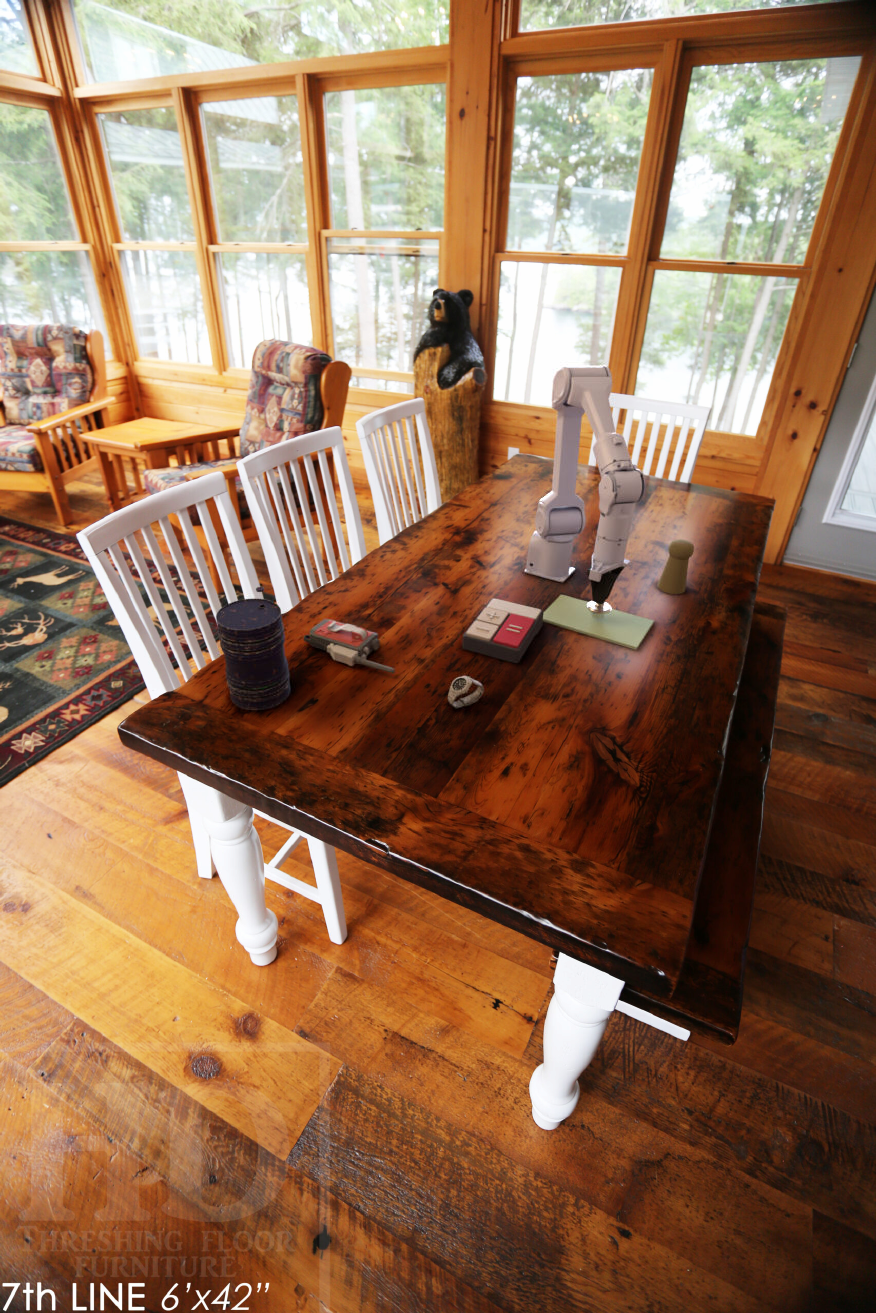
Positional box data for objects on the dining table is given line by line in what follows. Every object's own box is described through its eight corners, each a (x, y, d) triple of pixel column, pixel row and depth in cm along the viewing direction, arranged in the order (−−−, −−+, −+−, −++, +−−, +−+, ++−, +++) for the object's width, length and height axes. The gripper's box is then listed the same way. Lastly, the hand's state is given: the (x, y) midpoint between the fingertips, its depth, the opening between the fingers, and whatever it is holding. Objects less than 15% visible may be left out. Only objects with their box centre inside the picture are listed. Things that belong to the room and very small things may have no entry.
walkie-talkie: (296, 650, 117) (391, 681, 110) (293, 629, 115) (390, 659, 108) (324, 628, 124) (415, 656, 117) (322, 608, 122) (415, 635, 114)
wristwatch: (444, 702, 106) (445, 677, 103) (476, 692, 108) (477, 668, 105) (454, 714, 103) (456, 689, 100) (487, 703, 106) (489, 679, 103)
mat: (538, 620, 129) (538, 617, 129) (560, 596, 138) (561, 594, 138) (636, 650, 121) (636, 647, 121) (653, 623, 130) (654, 620, 129)
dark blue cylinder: (260, 718, 101) (244, 618, 91) (216, 696, 105) (197, 599, 95) (303, 687, 108) (293, 592, 98) (260, 668, 112) (247, 575, 102)
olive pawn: (686, 595, 140) (699, 548, 134) (658, 592, 141) (669, 545, 135) (683, 583, 145) (695, 537, 139) (656, 580, 146) (667, 534, 140)
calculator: (462, 632, 117) (491, 594, 128) (461, 651, 120) (490, 612, 131) (519, 647, 114) (544, 607, 125) (517, 667, 116) (542, 625, 127)
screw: (604, 624, 126) (581, 617, 128) (613, 614, 129) (590, 607, 131) (617, 564, 119) (592, 557, 121) (625, 555, 122) (600, 548, 124)
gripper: (621, 554, 112) (607, 621, 120) (644, 527, 123) (631, 591, 130) (583, 544, 115) (572, 610, 123) (609, 519, 126) (597, 582, 133)
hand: (600, 600), depth 127 cm, fingers closed on screw, 2 cm apart
